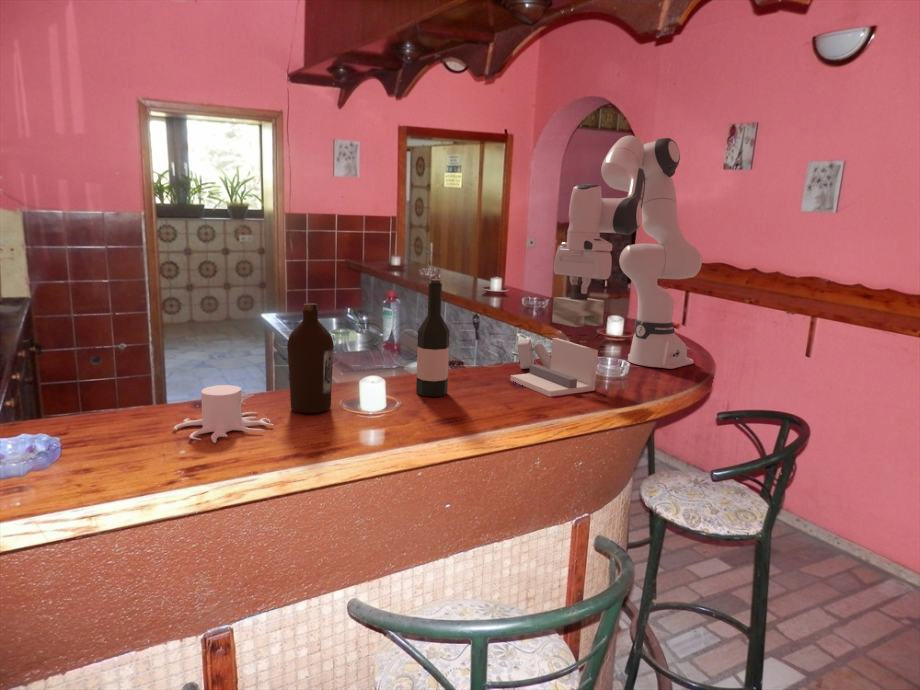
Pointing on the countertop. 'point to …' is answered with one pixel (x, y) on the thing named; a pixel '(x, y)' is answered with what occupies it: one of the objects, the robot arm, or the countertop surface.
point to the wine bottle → (433, 347)
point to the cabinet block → (578, 309)
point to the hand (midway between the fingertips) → (579, 293)
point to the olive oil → (310, 363)
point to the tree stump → (222, 412)
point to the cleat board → (563, 370)
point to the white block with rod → (527, 354)
